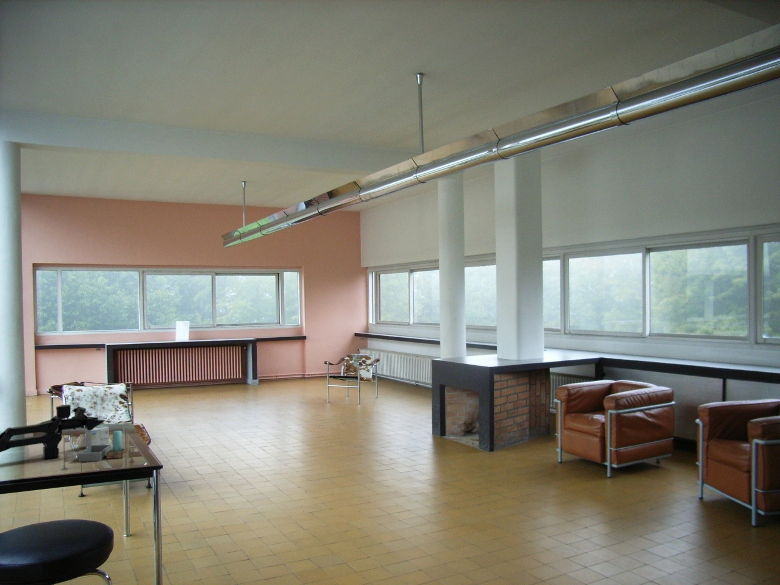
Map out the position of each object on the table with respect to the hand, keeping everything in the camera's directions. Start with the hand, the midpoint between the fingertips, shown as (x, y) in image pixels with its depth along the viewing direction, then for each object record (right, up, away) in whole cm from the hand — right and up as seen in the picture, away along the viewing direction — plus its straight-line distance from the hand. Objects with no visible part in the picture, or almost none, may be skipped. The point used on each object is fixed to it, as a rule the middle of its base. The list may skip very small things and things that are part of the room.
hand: (100, 419), depth 344 cm
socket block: (+15, -17, -13) cm, 26 cm away
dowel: (+15, -17, -13) cm, 26 cm away
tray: (+4, -17, -15) cm, 23 cm away
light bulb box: (-5, -17, +6) cm, 19 cm away
